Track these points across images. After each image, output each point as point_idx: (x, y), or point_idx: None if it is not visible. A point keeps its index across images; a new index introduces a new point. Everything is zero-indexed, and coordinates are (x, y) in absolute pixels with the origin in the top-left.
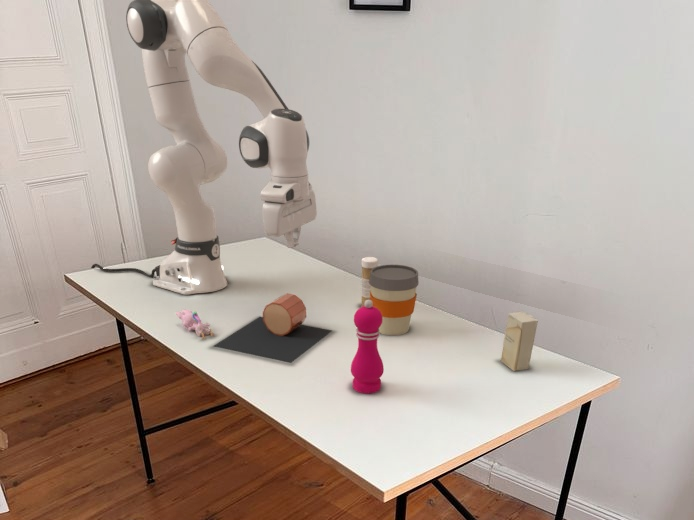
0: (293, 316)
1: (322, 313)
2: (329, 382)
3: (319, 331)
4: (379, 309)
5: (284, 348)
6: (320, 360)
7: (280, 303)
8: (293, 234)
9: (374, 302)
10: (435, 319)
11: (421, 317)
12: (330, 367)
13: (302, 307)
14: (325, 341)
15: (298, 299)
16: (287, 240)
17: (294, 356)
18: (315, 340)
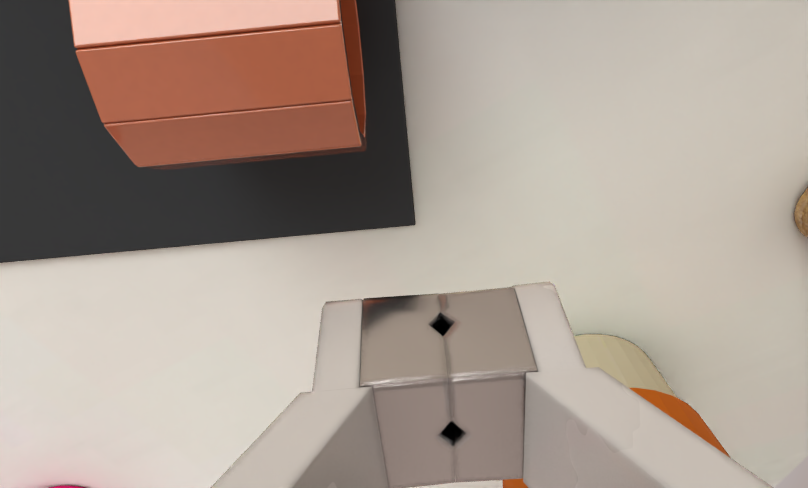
0: (186, 167)
1: (651, 28)
2: (3, 430)
3: (366, 180)
4: (507, 479)
5: (63, 153)
6: (115, 328)
7: (108, 121)
8: (584, 462)
9: (521, 483)
10: (740, 459)
11: (747, 420)
12: (97, 382)
13: (326, 153)
14: (294, 250)
15: (332, 136)
16: (313, 406)
17: (37, 242)
18: (256, 223)
